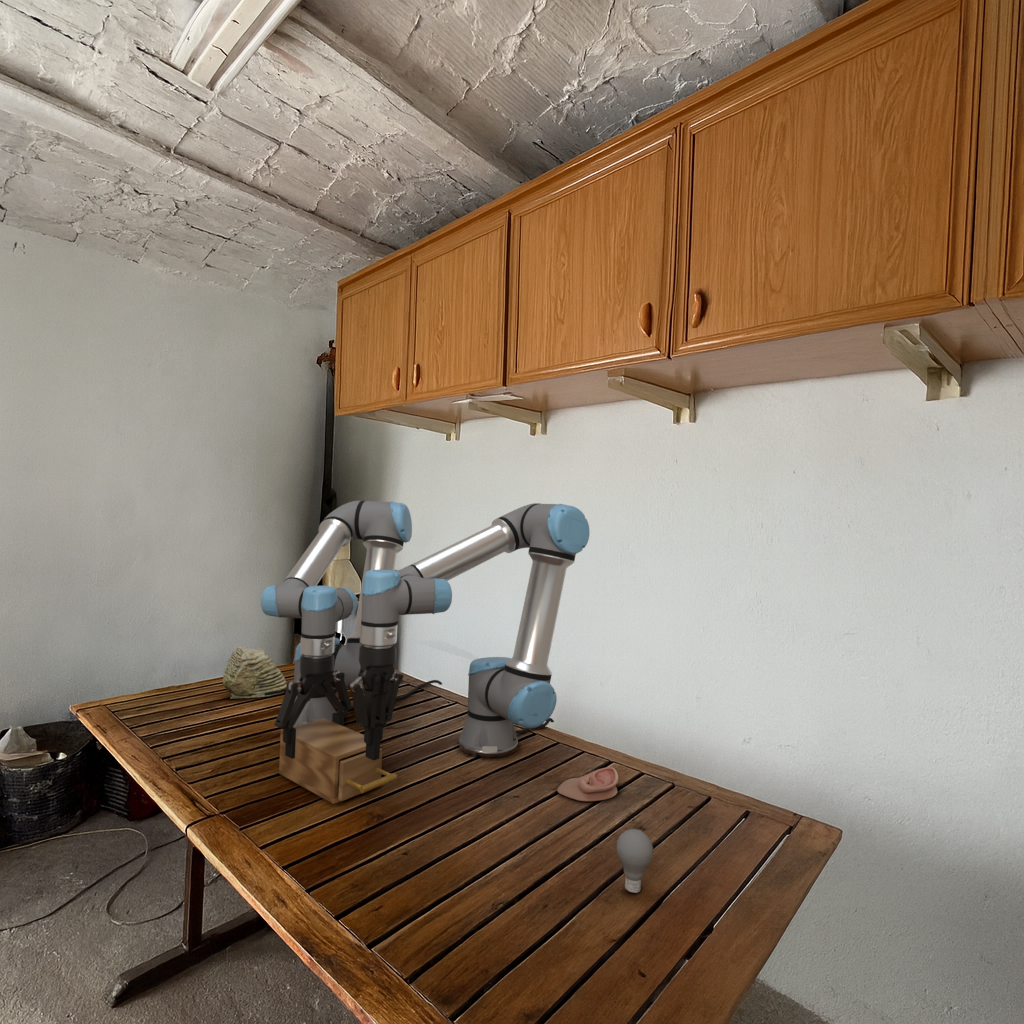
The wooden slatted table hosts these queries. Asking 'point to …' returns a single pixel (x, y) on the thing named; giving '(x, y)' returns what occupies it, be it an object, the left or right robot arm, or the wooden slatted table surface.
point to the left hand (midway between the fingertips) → (313, 748)
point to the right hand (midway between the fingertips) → (372, 757)
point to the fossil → (252, 674)
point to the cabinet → (319, 756)
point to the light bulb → (634, 857)
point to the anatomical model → (591, 785)
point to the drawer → (361, 775)
